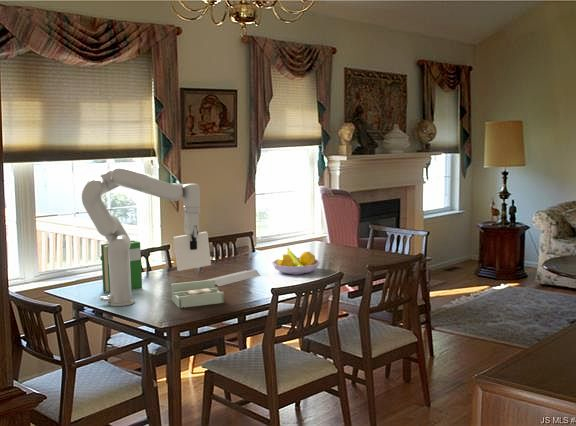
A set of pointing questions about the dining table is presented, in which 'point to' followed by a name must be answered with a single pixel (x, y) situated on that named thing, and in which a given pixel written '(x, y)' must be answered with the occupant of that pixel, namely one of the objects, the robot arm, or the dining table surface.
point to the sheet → (192, 252)
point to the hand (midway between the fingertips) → (192, 248)
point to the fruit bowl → (296, 263)
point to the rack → (199, 299)
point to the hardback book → (134, 266)
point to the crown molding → (235, 277)
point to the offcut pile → (198, 292)
